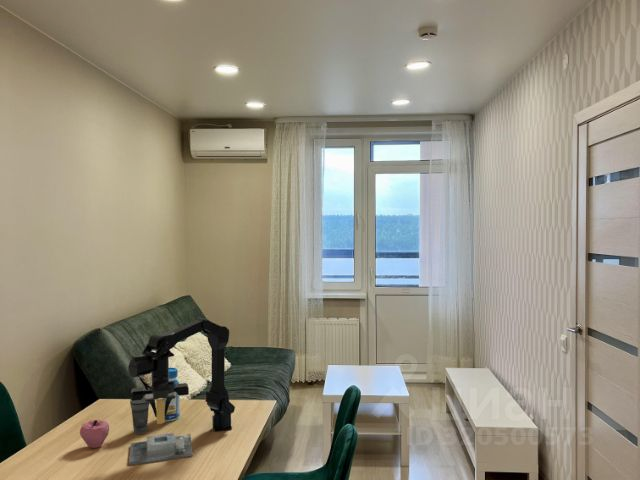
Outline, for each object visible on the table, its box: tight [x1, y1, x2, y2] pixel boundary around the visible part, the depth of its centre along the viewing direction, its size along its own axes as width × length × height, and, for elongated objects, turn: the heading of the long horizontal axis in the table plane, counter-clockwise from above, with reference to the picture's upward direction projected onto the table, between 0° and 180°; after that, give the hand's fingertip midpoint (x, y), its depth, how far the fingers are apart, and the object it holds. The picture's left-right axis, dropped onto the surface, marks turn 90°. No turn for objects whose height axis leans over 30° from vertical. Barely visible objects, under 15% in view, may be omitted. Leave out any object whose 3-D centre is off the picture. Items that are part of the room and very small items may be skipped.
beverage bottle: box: [164, 367, 181, 422], centre depth 204 cm, size 8×8×20 cm
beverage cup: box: [129, 378, 150, 435], centre depth 190 cm, size 7×7×20 cm
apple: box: [79, 419, 110, 449], centre depth 177 cm, size 10×9×10 cm
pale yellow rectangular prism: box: [155, 398, 166, 425], centre depth 172 cm, size 3×3×8 cm
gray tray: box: [128, 432, 193, 466], centre depth 172 cm, size 20×16×6 cm
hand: (160, 416), depth 172 cm, fingers closed on pale yellow rectangular prism, 3 cm apart
